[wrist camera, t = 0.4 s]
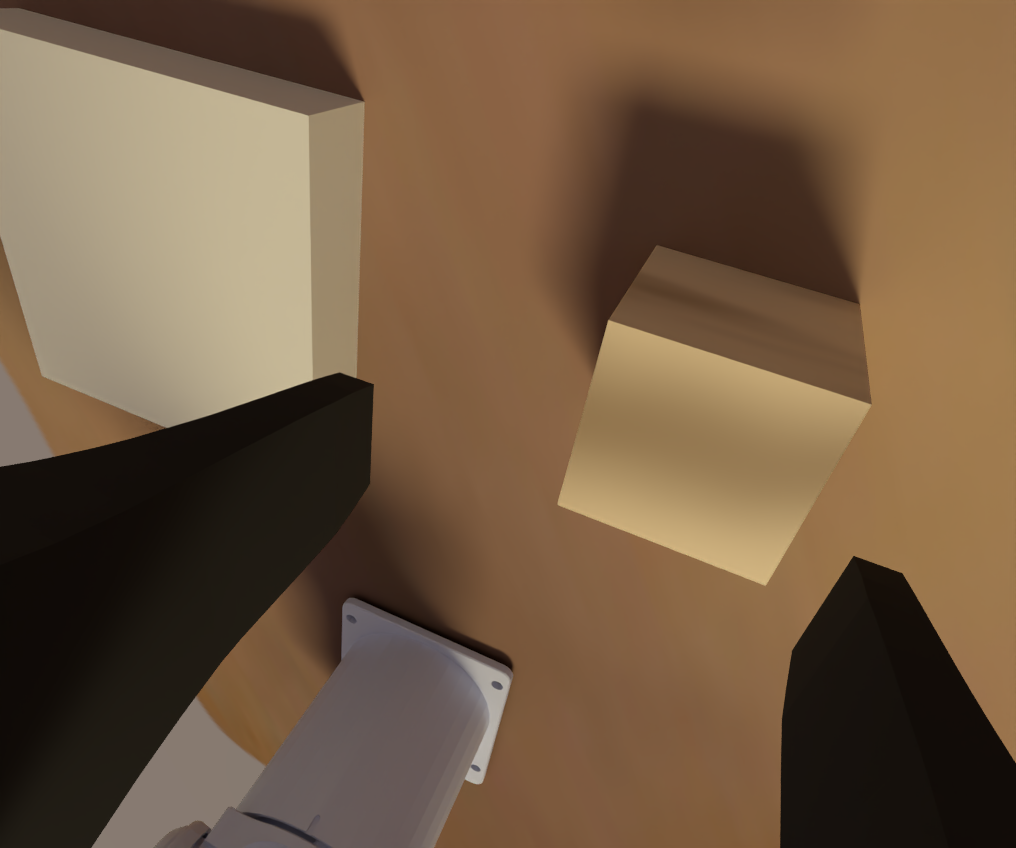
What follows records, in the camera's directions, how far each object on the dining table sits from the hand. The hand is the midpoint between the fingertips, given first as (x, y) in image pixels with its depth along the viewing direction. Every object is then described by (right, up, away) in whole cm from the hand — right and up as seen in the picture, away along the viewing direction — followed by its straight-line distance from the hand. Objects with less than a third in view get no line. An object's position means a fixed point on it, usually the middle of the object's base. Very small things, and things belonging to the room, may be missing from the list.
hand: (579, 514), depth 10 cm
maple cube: (+5, +3, +8) cm, 10 cm away
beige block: (-11, +7, +13) cm, 19 cm away
